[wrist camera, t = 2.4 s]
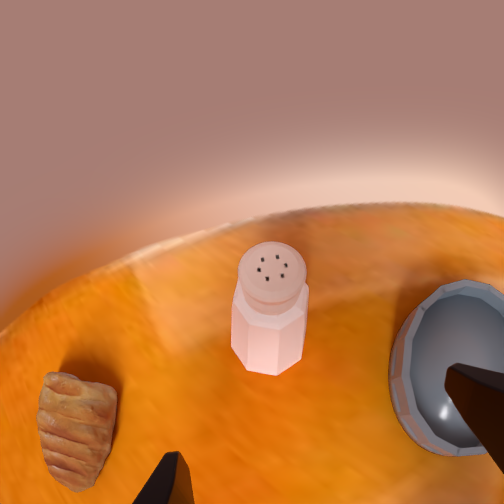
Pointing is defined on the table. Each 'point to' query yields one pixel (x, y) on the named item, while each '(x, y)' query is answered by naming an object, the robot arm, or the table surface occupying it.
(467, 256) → the table surface
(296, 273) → the pepper shaker
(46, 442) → the pastry
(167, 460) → the robot arm
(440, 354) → the dish
